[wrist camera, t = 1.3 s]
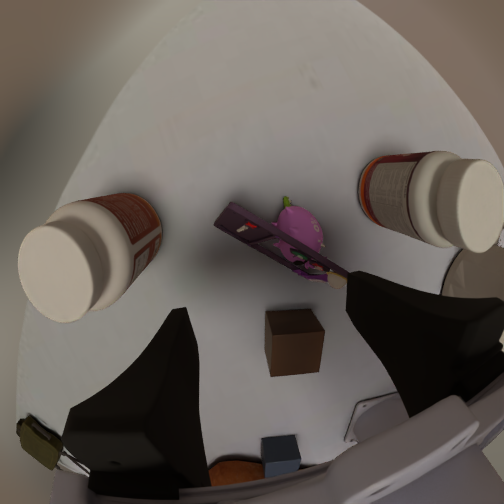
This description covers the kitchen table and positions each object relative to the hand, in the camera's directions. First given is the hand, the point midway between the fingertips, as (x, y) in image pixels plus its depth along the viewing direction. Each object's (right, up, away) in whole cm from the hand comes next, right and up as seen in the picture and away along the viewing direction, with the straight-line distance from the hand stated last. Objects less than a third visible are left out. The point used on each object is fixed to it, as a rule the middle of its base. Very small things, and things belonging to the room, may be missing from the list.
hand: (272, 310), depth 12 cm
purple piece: (+1, +4, +10) cm, 11 cm away
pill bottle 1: (-11, +4, +9) cm, 15 cm away
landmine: (-39, -26, +13) cm, 48 cm away
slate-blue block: (+2, -21, +16) cm, 27 cm away
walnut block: (+2, -4, +12) cm, 13 cm away
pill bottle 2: (+11, +8, +10) cm, 16 cm away
